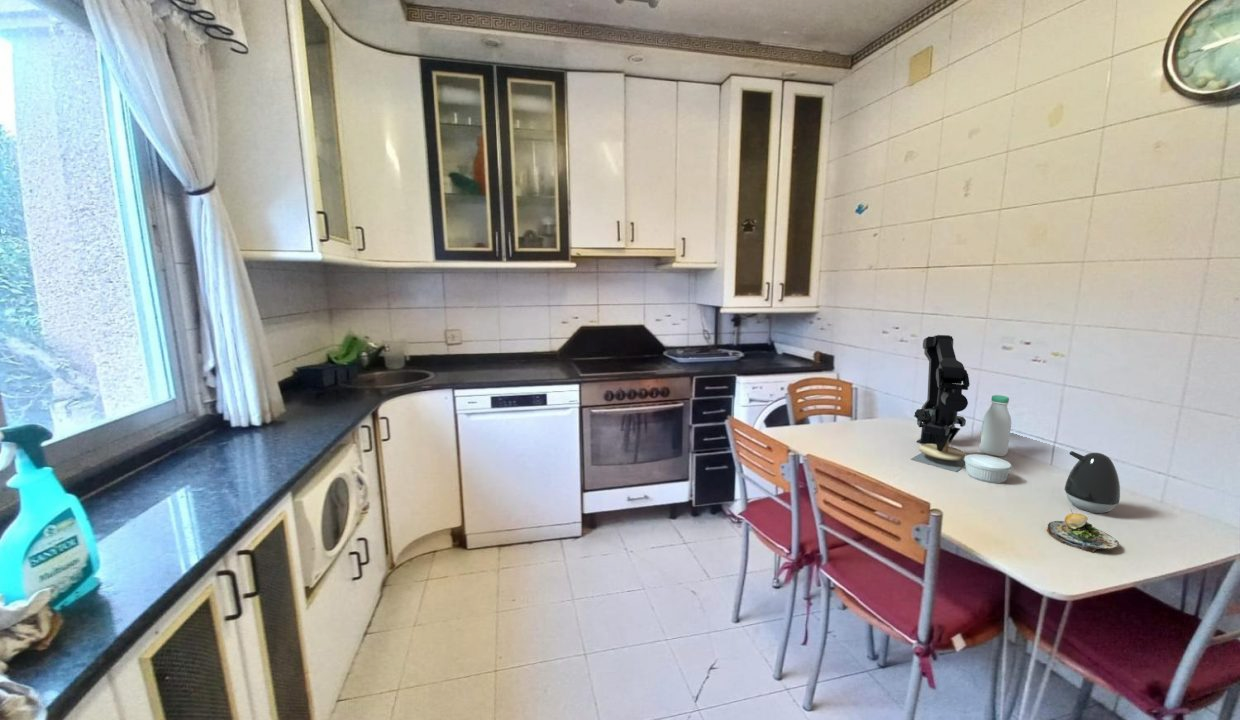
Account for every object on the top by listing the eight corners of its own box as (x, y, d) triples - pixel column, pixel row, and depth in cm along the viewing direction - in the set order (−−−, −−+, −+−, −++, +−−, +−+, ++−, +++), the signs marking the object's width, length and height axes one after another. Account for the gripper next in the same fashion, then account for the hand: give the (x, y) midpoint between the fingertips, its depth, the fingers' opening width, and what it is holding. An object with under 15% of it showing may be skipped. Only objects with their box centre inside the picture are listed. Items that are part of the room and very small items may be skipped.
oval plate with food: (1101, 560, 101) (1107, 528, 99) (1035, 533, 111) (1040, 504, 110) (1128, 547, 105) (1135, 517, 104) (1063, 523, 116) (1068, 494, 115)
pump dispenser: (1062, 495, 130) (1071, 443, 128) (1116, 508, 123) (1126, 453, 120) (1059, 507, 123) (1069, 452, 121) (1117, 522, 116) (1128, 464, 113)
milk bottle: (1012, 456, 158) (1021, 399, 155) (989, 456, 159) (997, 399, 155) (995, 448, 166) (1003, 393, 163) (973, 448, 166) (980, 393, 163)
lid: (928, 443, 163) (929, 431, 162) (970, 454, 153) (972, 441, 153) (913, 451, 156) (914, 438, 155) (956, 463, 146) (958, 449, 145)
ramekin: (960, 477, 142) (962, 461, 141) (965, 466, 150) (967, 451, 149) (1007, 488, 135) (1010, 471, 134) (1010, 476, 143) (1012, 460, 142)
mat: (926, 450, 164) (926, 450, 164) (970, 462, 154) (970, 461, 154) (910, 459, 156) (910, 458, 156) (956, 472, 146) (956, 471, 146)
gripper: (931, 394, 163) (926, 437, 166) (908, 403, 152) (903, 448, 155) (969, 401, 155) (963, 446, 157) (947, 410, 144) (941, 459, 146)
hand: (941, 449), depth 154 cm, fingers closed on lid, 3 cm apart
